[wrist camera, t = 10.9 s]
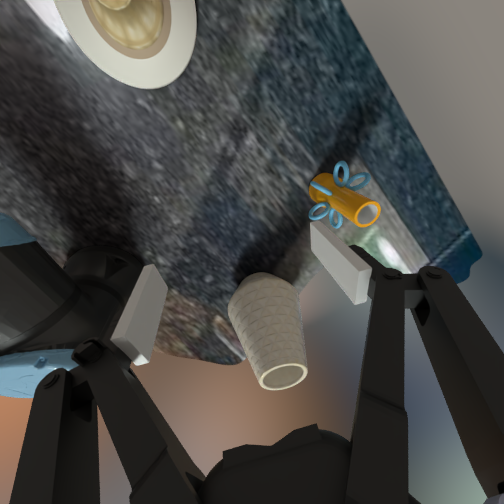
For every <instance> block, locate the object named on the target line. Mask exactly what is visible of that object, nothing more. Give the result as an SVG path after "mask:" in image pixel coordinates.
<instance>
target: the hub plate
mask: <svg viewBox="0 0 504 504" xmlns="http://www.w3.org/2000/svg"><path fill="white" fill-rule="evenodd" d="M54 2H55V5H56V8H57V10H58V12H59V14H60V16H61V19H62V21H63V22H64V24H65V26H66V28H67V29H68V31H69V33H70V34H71V36H72V37H73V39H74V40H75V42H76V43H77V44H78V46H79V47H80V48H81V50H82V51H83V52H84V53H85V54H86V55H87V56H88V57H89V59H90V60H91V61H92V62H93V63H95V64H96V65H97V66H98V67H99V68H100V69H101V70H103V71H104V72H105V73H107V74H108V75H110V76H111V77H113V78H115V79H116V80H118V81H120V82H123V83H125V84H127V85H130V86H132V87H136V88H140V89H159V88H163V87H165V86H168V85H170V84H171V83H173V82H174V81H176V80H177V79H178V78H179V77H180V76H181V75H182V74H183V73H184V71H185V70H186V68H187V66H188V65H189V62H190V60H191V58H192V55H193V52H194V48H195V43H196V35H197V15H196V7H195V0H162V3H163V13H164V19H163V26H162V30H161V33H160V36H159V38H158V39H157V40H156V42H155V43H154V44H153V45H152V46H150V47H149V48H146V49H142V50H134V49H130V48H127V47H124V46H122V45H120V44H119V43H117V42H116V41H115V40H113V39H112V38H111V37H110V36H109V35H108V34H107V33H106V32H105V30H104V29H103V28H102V27H101V25H100V24H99V22H98V21H97V19H96V17H95V15H94V13H93V11H92V9H91V7H90V4H89V1H88V0H54Z"/></svg>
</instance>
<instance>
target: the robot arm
mask: <svg viewBox="0 0 504 504" xmlns="http://www.w3.org/2000/svg"><path fill="white" fill-rule="evenodd" d="M310 231H311V250H312V251H313V253H314V254H315V255H316V256H317V258H318V259H319V260H320V262H321V263H322V264H323V265H324V267H325V268H326V269H327V270H328V272H329V273H330V274H331V275H332V277H333V278H334V279H335V280H336V282H337V283H338V284H339V286H340V287H341V288H342V289H343V290H344V292H345V293H346V294H347V296H348V297H349V298H350V299H351V301H352V302H353V303H354V305H356V304H360V303H363V302H366V301H367V295H368V296H369V297H370V298H371V299H372V302H371V307H370V315H369V322H368V328H367V335H366V341H365V349H364V355H363V361H362V368H361V375H360V381H359V388H358V395H357V401H356V408H355V414H354V420H353V426H352V432H351V439H350V442H349V441H348V440H347V439H345V438H344V437H342V436H340V435H338V434H336V433H333V432H331V431H327V430H320V429H318V426H317V424H313V425H310V426H306V427H303V428H299V429H296V430H293V431H292V432H291V433H289V434H288V435H286V436H285V437H284V438H282V439H281V440H279V441H278V442H277V443H275V444H274V445H272V446H262V445H248V444H246V445H242V446H239V447H236V448H232V449H229V450H226V451H223V459H222V460H221V461H219V462H218V463H217V464H216V465H215V467H213V469H212V470H211V471H210V472H209V474H208V475H207V477H205V476H204V474H203V473H202V472H201V470H200V469H199V468H198V467H197V466H196V465H195V464H194V462H193V461H192V460H191V458H190V456H189V455H188V453H187V452H186V450H185V449H184V447H183V446H182V445H181V443H180V441H179V440H178V438H177V437H176V435H175V434H174V432H173V431H172V429H171V428H170V426H169V425H168V423H167V422H166V420H165V419H164V417H163V416H162V414H161V413H160V411H159V410H158V408H157V407H156V405H155V404H154V402H153V401H152V399H151V398H150V396H149V395H148V393H147V392H146V390H145V389H144V387H143V386H142V384H141V382H140V381H139V380H138V378H137V376H136V375H135V373H134V372H133V370H132V369H131V368H130V364H131V361H132V362H133V363H134V364H135V365H137V366H138V365H141V364H145V363H148V362H149V361H150V357H151V353H152V349H153V345H154V342H155V338H156V334H157V330H158V326H159V322H160V318H161V314H162V310H163V306H164V303H165V299H166V295H167V291H168V287H167V285H166V284H165V282H164V280H163V279H162V277H161V275H160V274H159V272H158V270H157V269H156V267H155V265H154V264H151V265H147V266H144V267H143V266H142V264H141V263H140V262H139V261H138V260H137V259H136V258H135V257H134V256H132V255H131V254H129V253H127V252H125V251H123V250H121V249H118V248H115V247H110V246H102V245H97V246H89V247H85V248H83V249H80V250H78V251H77V252H76V253H74V254H73V255H72V256H71V257H70V258H69V259H68V260H67V261H66V263H65V264H64V267H63V269H62V268H61V267H60V266H59V265H58V264H57V263H56V262H55V261H54V260H53V259H52V258H51V256H50V255H49V254H48V253H47V252H46V251H45V250H44V249H43V248H42V247H41V245H40V244H39V243H38V242H37V241H36V240H37V239H36V238H35V237H33V236H31V235H30V234H29V233H28V232H27V231H26V230H25V229H23V228H22V227H21V226H20V225H19V224H18V223H17V222H16V221H15V220H14V219H13V218H12V217H10V216H8V215H6V214H4V213H0V395H1V396H7V397H17V398H33V402H32V406H31V410H30V415H29V420H28V424H27V428H26V433H25V437H24V441H23V446H22V450H21V455H20V459H19V463H18V468H17V472H16V477H15V481H14V485H13V490H12V494H11V499H10V503H9V504H100V484H99V483H100V482H99V453H98V452H99V450H98V420H97V419H98V418H97V405H98V407H99V410H100V412H101V414H102V417H103V419H104V422H105V424H106V426H107V429H108V431H109V434H110V436H111V439H112V441H113V443H114V446H115V448H116V451H117V453H118V456H119V458H120V460H121V463H122V465H123V467H124V470H125V473H126V475H127V477H128V479H129V482H130V485H131V488H132V492H131V494H130V496H129V499H130V504H421V503H420V502H418V501H417V500H416V499H415V498H414V497H412V495H410V494H409V493H408V417H407V412H406V411H405V408H404V324H405V323H404V322H405V321H404V319H405V317H404V316H405V315H404V314H405V308H410V310H411V312H412V315H413V318H414V320H415V323H416V325H417V328H418V330H419V333H420V336H421V338H422V341H423V343H424V346H425V349H426V351H427V354H428V356H429V359H430V361H431V364H432V367H433V369H434V372H435V374H436V377H437V380H438V382H439V385H440V387H441V390H442V392H443V395H444V398H445V400H446V403H447V405H448V408H449V411H450V413H451V415H452V418H453V421H454V423H455V426H456V428H457V431H458V434H459V436H460V439H461V442H462V444H463V446H464V449H465V452H466V455H467V457H468V459H469V461H470V463H471V466H472V468H473V470H474V473H475V475H476V477H477V479H478V481H479V483H480V484H481V486H482V488H483V490H484V492H485V494H486V496H487V498H488V499H486V501H485V502H484V504H504V354H503V352H502V350H501V349H500V347H499V346H498V344H497V343H496V342H495V340H494V339H493V337H492V336H491V334H490V333H489V331H488V330H487V328H486V327H485V325H484V324H483V322H482V321H481V319H480V318H479V317H478V315H477V314H476V312H475V311H474V309H473V308H472V306H471V305H470V303H469V302H468V300H467V299H466V297H465V296H464V295H463V293H462V292H461V290H460V289H459V287H458V286H457V284H456V283H455V281H454V280H453V278H452V277H451V275H450V274H449V273H448V272H447V271H445V270H443V269H441V268H438V267H434V266H424V267H422V268H420V270H419V272H418V274H403V273H402V272H400V271H398V270H396V269H393V268H386V267H384V266H383V265H382V264H381V263H379V262H378V261H377V260H376V259H375V258H373V257H372V256H371V255H370V254H369V253H367V252H366V251H365V250H364V249H363V248H361V247H359V246H357V245H351V246H347V245H346V244H345V243H344V242H343V241H342V240H340V239H339V238H338V237H337V236H336V235H335V234H334V233H333V232H332V231H330V230H329V229H328V228H327V227H326V226H325V225H324V224H323V223H322V222H320V221H319V220H318V221H314V222H311V223H310Z"/></svg>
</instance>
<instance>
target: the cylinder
mask: <svg viewBox="0 0 504 504" xmlns="http://www.w3.org/2000/svg"><path fill="white" fill-rule="evenodd" d="M340 166H342V167H343V170H344V179H343V180H342V179H341V178H339V177H338V170H339V167H340ZM360 177H365V178H366V179H365V180H364V181H363V182H362V183H361V184H359V185H357V186H353V187H350V186H349V185H350V184H351V182H353V181H354V180H355V179H357V178H360ZM370 179H371V176H370V174H369V173H366V172H363V173H358V174H356V175H354V176H352V177H351V178H350V179H349V167H348V165H347V163H346V162H345V161H339V162H338V163H337V164H336V165H335V167H334V171H333V174H330V173H321V174H319V175H317V176H316V177H315V178H314V179H313V180H312V181H311V182H310V186H309V195H310V197H311V198H312V199H313V200H314V201H315V202H316V203H318V204H316V205H315V206H313V207H312V208H311V210H310V211H309V214H308V215H309V218H310V219H312V220H318V219H321V218H323V217H324V216H326V215H327V214H328V213H329V220H330V223H331V225H332V226H333V227H334V228H339V227H340V226H341V225H342V221H343V216H345V217H346V218H348V219H349V220H350V221H352V222H353V223H355V224H356V225H357V226H359V227H366V226H369V225H371V224H372V223H374V222H375V221H376V219H377V218H378V216H379V214H380V210H381V208H380V205H379V204H378V203H377V202H375V201H373V200H371V199H369V198H367V197H365V196H363V195H361V194H359V193H357V192H355V191H356V190H359V189H361V188H363V187H364V186H366V185H367V184H368V183H369V181H370ZM319 207H324V208H326V209H325V211H324V212H322V213H321V214H319V215H317V216H313V212H314V211H315V210H316V209H317V208H319ZM330 208H331V209H330ZM334 210H335V211H336V212H337V214H338V223H337V224H336V223H335V222H334V219H333V212H334ZM342 215H343V216H342Z"/></svg>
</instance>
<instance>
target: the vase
mask: <svg viewBox="0 0 504 504" xmlns="http://www.w3.org/2000/svg"><path fill="white" fill-rule="evenodd" d="M228 315H229V318H230V320H231V322H232V324H233V327H234V329H235V331H236V333H237V335H238V338H239V340H240V342H241V344H242V346H243V349H244V351H245V353H246V355H247V357H248V359H249V362H250V364H251V366H252V368H253V371H254V373H255V375H256V377H257V379H258V381H259V384H260V385H261V386H262V387H263V388H265V389H268V390H280V389H286V388H289V387H292V386H294V385H296V384H298V383H299V382H300V381H302V380H303V379H304V378H305V377H306V375H307V372H308V369H307V361H306V352H305V344H304V335H303V327H302V318H301V309H300V301H299V295H298V293H297V290H296V289H295V288H294V287H293V286H292V285H291V284H290V283H289V282H287V281H285V280H283V279H281V278H278V277H276V276H274V275H272V274H270V273H265V272H258V273H254V274H251V275H249V276H248V277H246V278H245V279H244V280H243V281H242V282H241V284H240V285H239V286H238V288H237V289H236V291H235V292H234V294H233V295H232V297H231V299H230V301H229V305H228Z"/></svg>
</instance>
